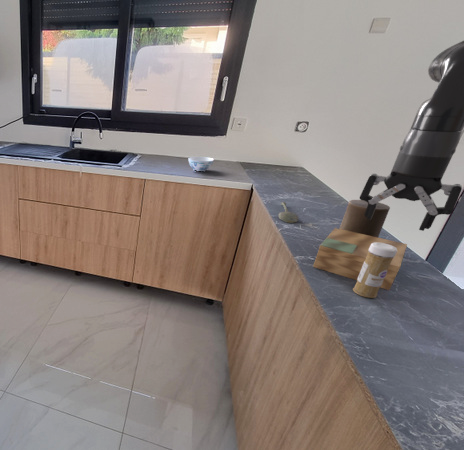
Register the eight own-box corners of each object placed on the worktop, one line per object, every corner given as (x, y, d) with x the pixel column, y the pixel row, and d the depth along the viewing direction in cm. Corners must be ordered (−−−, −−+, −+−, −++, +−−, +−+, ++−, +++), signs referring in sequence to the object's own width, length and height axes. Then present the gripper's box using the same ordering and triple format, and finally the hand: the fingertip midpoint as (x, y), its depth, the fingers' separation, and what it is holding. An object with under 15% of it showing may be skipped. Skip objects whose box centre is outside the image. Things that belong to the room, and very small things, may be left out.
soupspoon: (277, 222, 122) (297, 226, 119) (280, 215, 120) (300, 218, 117) (274, 204, 139) (292, 206, 136) (276, 197, 137) (294, 199, 134)
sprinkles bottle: (370, 300, 75) (392, 252, 70) (348, 291, 79) (367, 244, 74) (380, 295, 77) (402, 247, 72) (357, 286, 81) (376, 240, 76)
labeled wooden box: (397, 265, 89) (407, 243, 87) (389, 290, 79) (400, 266, 76) (328, 247, 101) (335, 227, 98) (312, 267, 90) (320, 245, 87)
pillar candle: (363, 252, 97) (381, 207, 91) (328, 239, 106) (343, 198, 100) (381, 246, 101) (399, 202, 95) (346, 234, 109) (361, 193, 103)
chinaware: (187, 172, 196) (188, 160, 193) (186, 167, 209) (188, 156, 206) (213, 174, 191) (215, 161, 188) (210, 168, 204) (212, 157, 201)
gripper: (479, 154, 61) (441, 228, 68) (381, 146, 71) (356, 212, 78) (481, 159, 57) (440, 238, 63) (375, 150, 67) (349, 219, 73)
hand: (393, 224), depth 71 cm, fingers open, 8 cm apart
